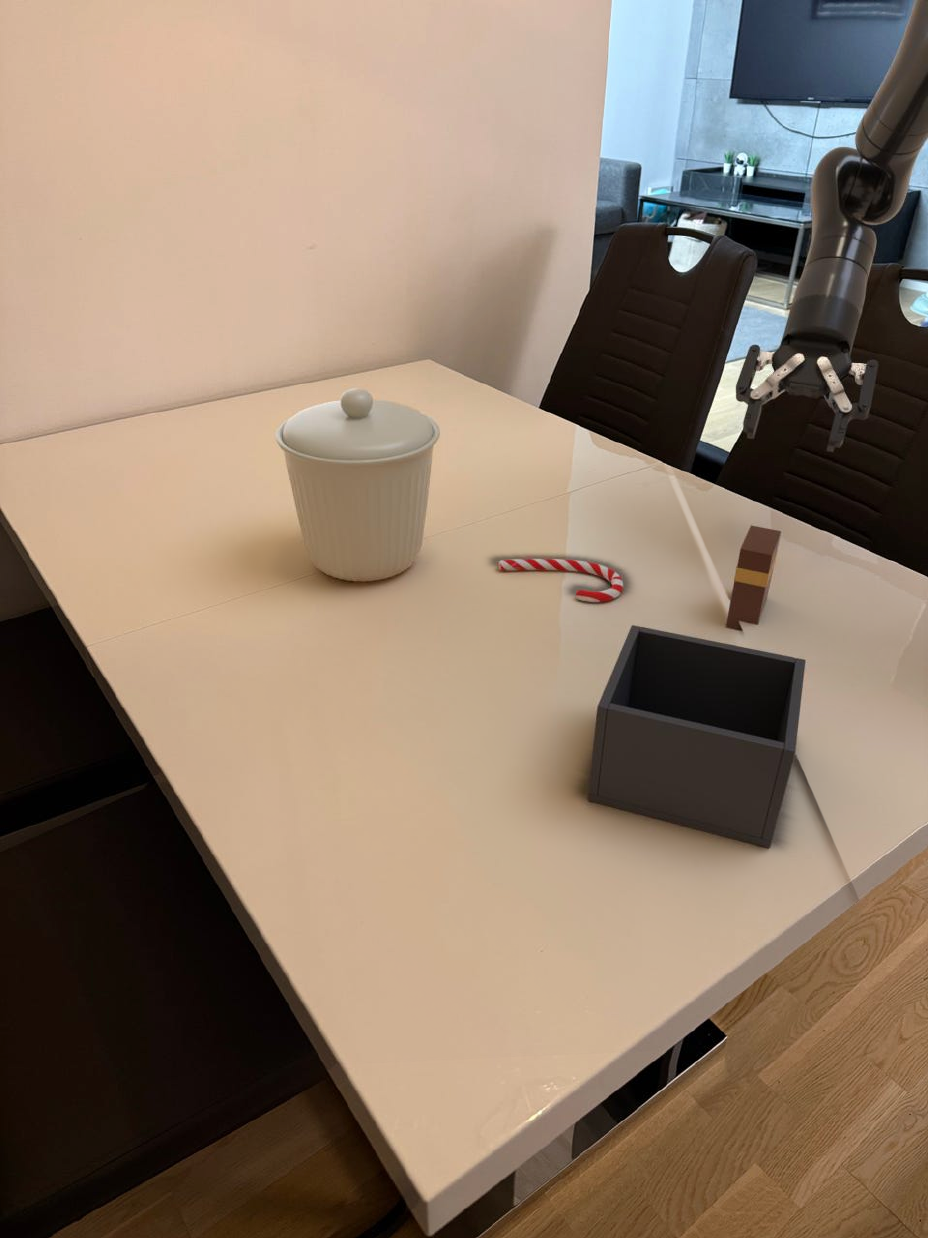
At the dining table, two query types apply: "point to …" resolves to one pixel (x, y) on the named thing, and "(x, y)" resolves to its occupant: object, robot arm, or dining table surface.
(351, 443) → the canister
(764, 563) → the chocolate box
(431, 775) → the dining table surface
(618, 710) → the waste bin
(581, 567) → the candy cane
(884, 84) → the robot arm
